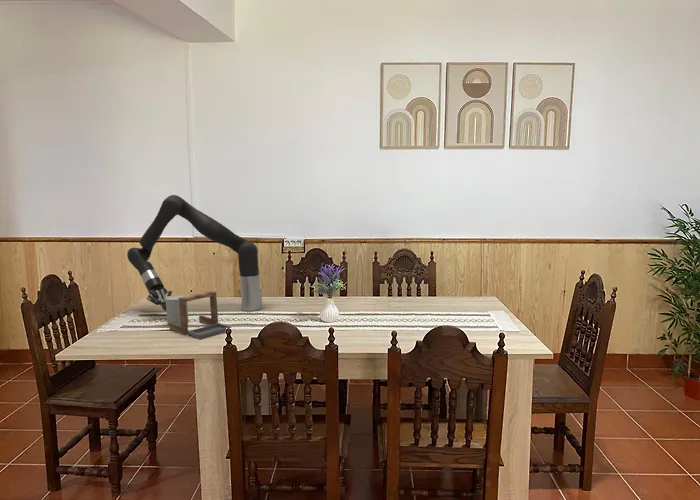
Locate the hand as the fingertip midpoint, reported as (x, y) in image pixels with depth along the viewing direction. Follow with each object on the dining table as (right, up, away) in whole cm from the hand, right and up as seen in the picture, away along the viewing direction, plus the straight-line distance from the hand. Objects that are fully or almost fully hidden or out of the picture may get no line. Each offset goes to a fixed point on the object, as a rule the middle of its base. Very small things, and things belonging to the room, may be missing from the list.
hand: (167, 309), depth 296 cm
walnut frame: (+16, -7, -14) cm, 23 cm away
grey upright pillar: (+6, -6, -5) cm, 10 cm away
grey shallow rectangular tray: (+25, -8, -23) cm, 35 cm away
